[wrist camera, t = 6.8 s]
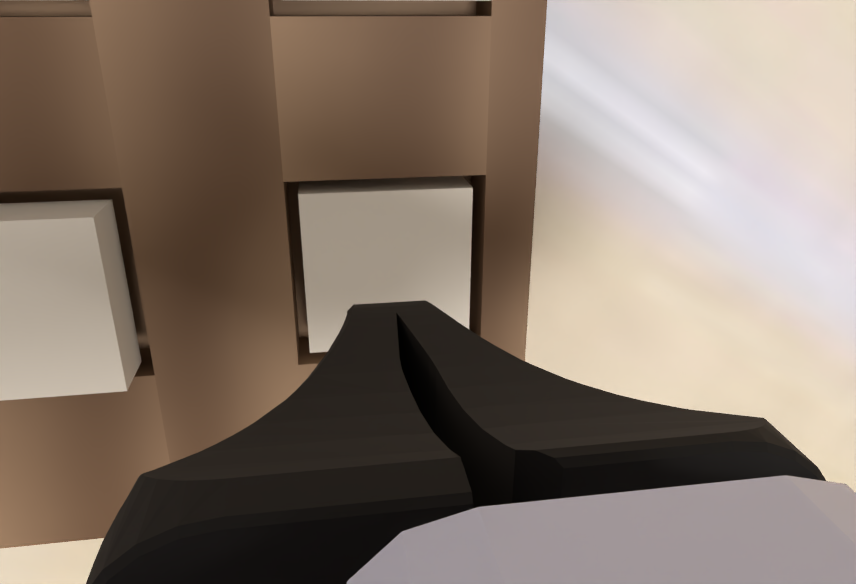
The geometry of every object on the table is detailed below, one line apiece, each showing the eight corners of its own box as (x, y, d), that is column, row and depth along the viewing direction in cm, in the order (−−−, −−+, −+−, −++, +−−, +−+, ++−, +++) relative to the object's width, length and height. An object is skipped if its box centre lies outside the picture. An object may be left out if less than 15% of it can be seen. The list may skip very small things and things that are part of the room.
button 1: (-39, 373, 16) (-70, 406, 15) (-89, 206, 14) (-128, 226, 13) (141, 361, 17) (127, 391, 15) (111, 199, 15) (94, 217, 14)
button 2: (309, 328, 18) (309, 352, 17) (299, 179, 17) (298, 194, 15) (457, 319, 19) (468, 341, 17) (461, 174, 17) (472, 187, 16)
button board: (2, 469, 21) (-61, 563, 17) (-342, -717, 11) (-629, -1033, 8) (487, 426, 23) (519, 502, 19) (529, -604, 14) (604, -816, 10)
